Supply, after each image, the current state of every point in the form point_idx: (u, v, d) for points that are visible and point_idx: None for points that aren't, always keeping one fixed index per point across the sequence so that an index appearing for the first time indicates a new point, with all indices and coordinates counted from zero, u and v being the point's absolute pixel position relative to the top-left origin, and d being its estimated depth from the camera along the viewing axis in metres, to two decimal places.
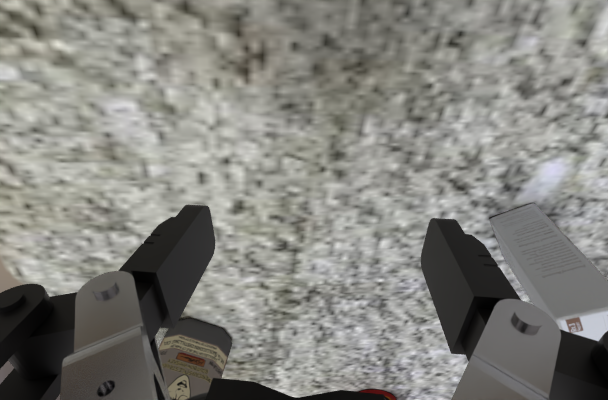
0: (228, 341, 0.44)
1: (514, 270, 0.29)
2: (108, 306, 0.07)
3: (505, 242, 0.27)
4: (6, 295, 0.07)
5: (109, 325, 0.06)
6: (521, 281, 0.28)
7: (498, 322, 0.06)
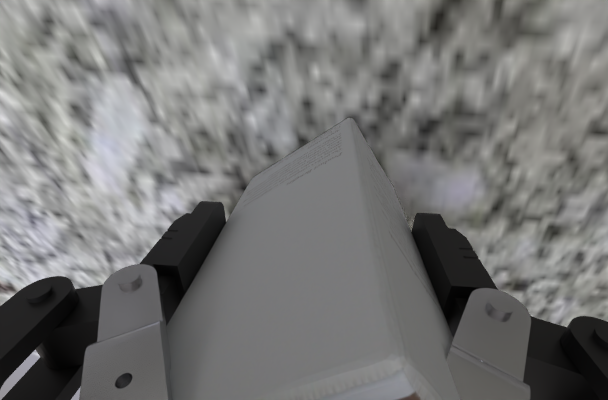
0: None
1: (268, 190, 0.12)
2: (131, 299, 0.07)
3: (355, 142, 0.10)
4: (36, 286, 0.07)
5: (137, 315, 0.07)
6: (261, 208, 0.10)
7: (472, 309, 0.07)
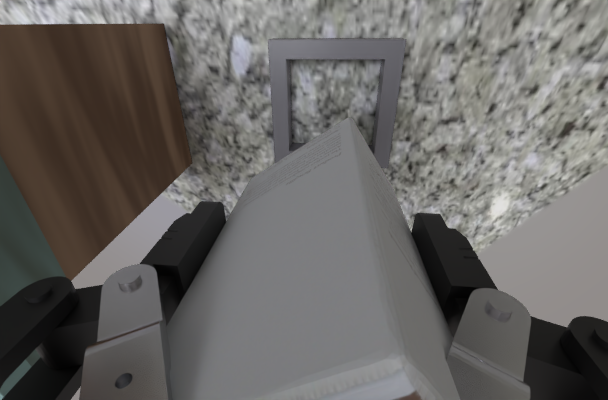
0: None
1: (268, 190, 0.12)
2: (131, 298, 0.07)
3: (354, 142, 0.10)
4: (36, 286, 0.07)
5: (136, 315, 0.07)
6: (261, 208, 0.10)
7: (472, 309, 0.07)
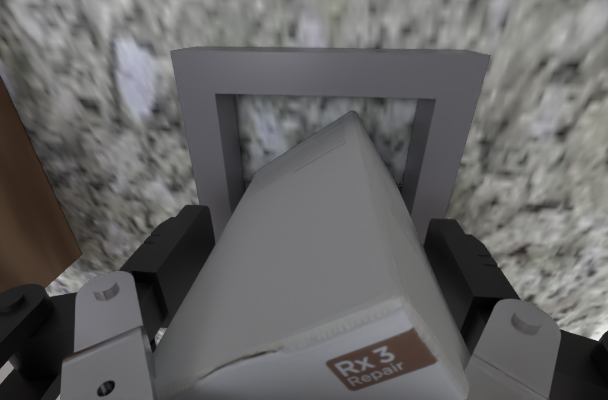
0: None
1: (275, 179, 0.12)
2: (108, 306, 0.07)
3: (357, 132, 0.11)
4: (6, 295, 0.07)
5: (109, 325, 0.06)
6: (269, 194, 0.11)
7: (498, 322, 0.06)
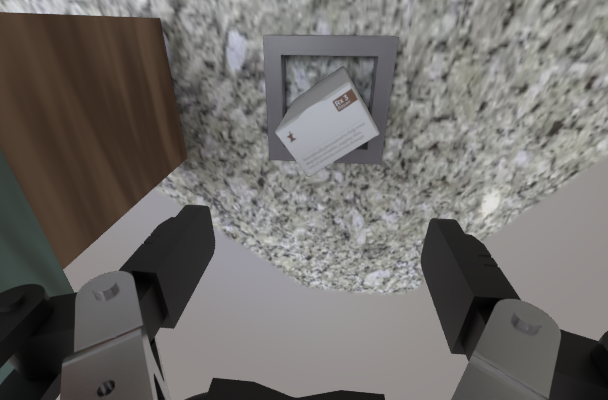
0: None
1: (307, 93, 0.27)
2: (108, 306, 0.07)
3: (344, 70, 0.26)
4: (6, 295, 0.07)
5: (109, 325, 0.06)
6: (306, 96, 0.26)
7: (498, 322, 0.06)
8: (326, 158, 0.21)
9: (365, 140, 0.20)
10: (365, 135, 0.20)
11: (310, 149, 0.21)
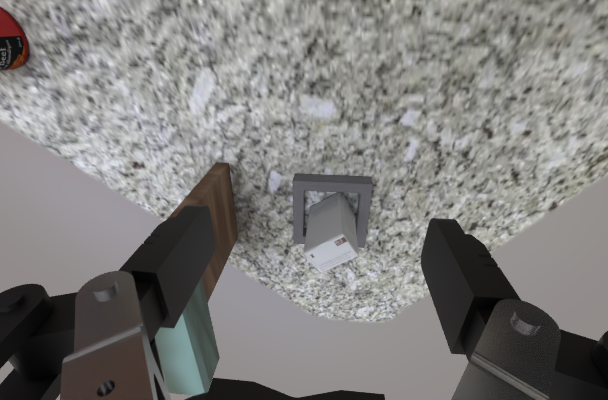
0: None
1: (319, 213, 0.45)
2: (108, 306, 0.07)
3: (340, 202, 0.44)
4: (5, 295, 0.07)
5: (109, 325, 0.06)
6: (319, 217, 0.44)
7: (498, 322, 0.06)
8: (330, 265, 0.40)
9: (351, 258, 0.39)
10: (351, 256, 0.39)
11: (322, 261, 0.39)
